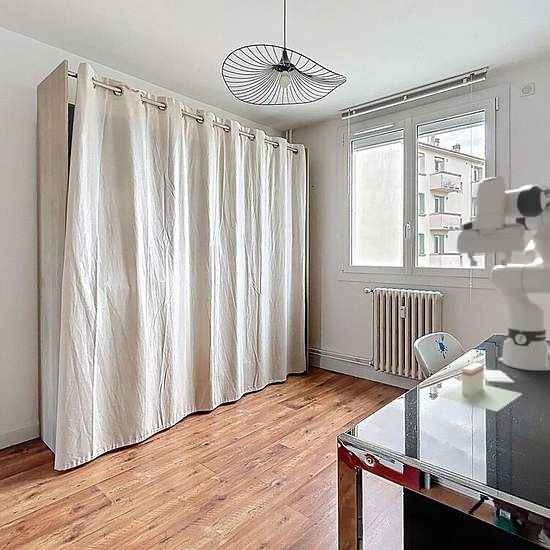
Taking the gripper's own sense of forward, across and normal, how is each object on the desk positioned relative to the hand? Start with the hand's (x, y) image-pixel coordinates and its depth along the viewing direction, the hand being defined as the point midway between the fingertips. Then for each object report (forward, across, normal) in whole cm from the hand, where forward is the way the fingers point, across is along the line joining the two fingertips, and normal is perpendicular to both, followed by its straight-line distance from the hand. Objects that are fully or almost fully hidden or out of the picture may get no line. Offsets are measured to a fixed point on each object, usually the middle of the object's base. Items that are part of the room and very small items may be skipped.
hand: (488, 266), depth 132 cm
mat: (+41, -4, +12) cm, 43 cm away
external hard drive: (+39, 0, -9) cm, 40 cm away
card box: (+40, -1, +11) cm, 42 cm away
